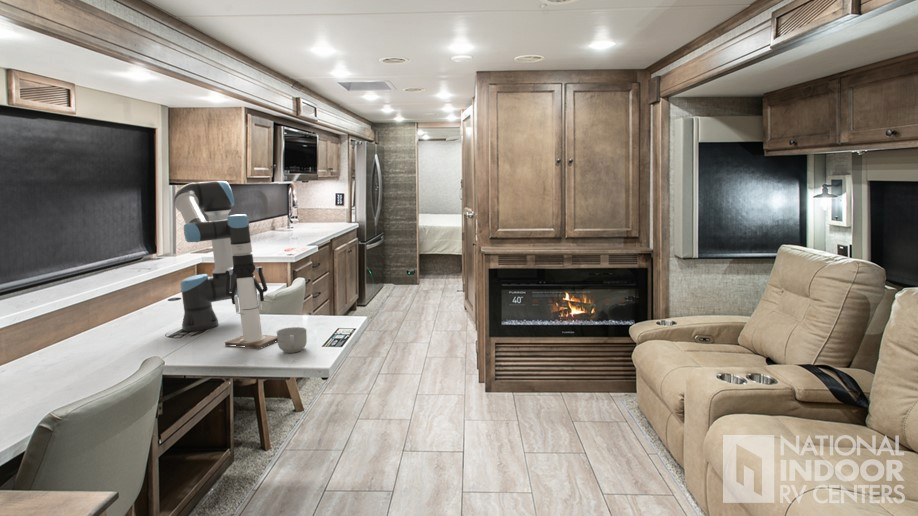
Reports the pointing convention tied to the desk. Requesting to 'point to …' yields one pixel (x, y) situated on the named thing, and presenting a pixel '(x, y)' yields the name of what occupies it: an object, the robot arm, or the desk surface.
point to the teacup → (292, 339)
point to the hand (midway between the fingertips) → (249, 310)
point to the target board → (256, 343)
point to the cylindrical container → (249, 309)
